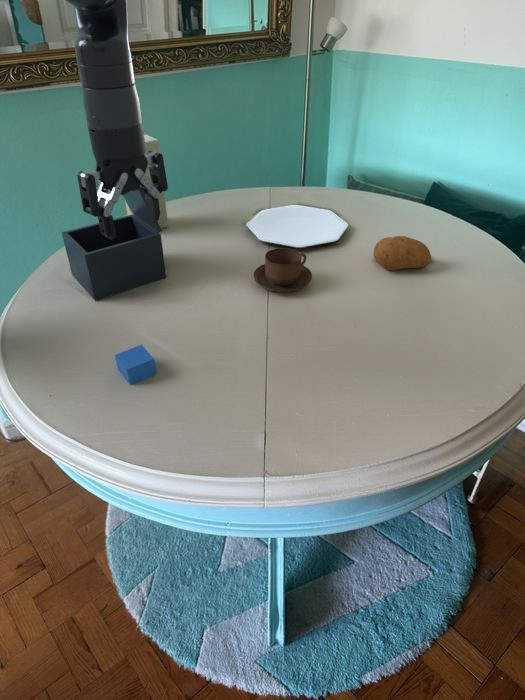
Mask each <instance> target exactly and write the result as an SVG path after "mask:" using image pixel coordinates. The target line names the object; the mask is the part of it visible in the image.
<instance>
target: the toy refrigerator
mask: <svg viewBox="0 0 525 700" xmlns="http://www.w3.org/2000/svg"><path fill="white" fill-rule="evenodd" d="M144 139H145V146H146V151H145V153H144V155H147V152H148V151H153V152H157V153H160V154H161V149H160V142H159V139H157V138H155V137H153V136H150V135H148V134H144ZM145 175H146V177H147V178H148V179H149V180H150V181H151V176H150V171H149V167H148V166H147V169H146V172H145ZM151 182H152V181H151ZM158 199H159V207H160V216H159V220H158V223H159V225H160V227H161V229H165V228H168V227H169V221H168V213H167V212H168V211H167V203H166V195H165V191H163V192H162V193H160V196H159V198H158ZM124 202H125V209H126V216H128V215H132V214H133V213H132V212H131V210H130V208H129V206H128V204H127V202H126V200H125V199H124ZM135 216H136V215H135Z"/></svg>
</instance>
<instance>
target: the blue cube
mask: <svg viewBox="0 0 525 700" xmlns="http://www.w3.org/2000/svg"><path fill="white" fill-rule="evenodd" d="M114 358H115V363H116V368H117V371H118V372H119V373H120V375H121V376H122V377H123V378H124V380H125V381H126V382H127V383H128V385H129V386H131V385H134V384H136V383H139V382H142V381H144V380H145V379H148V378H150V377H153V376H155V375H158V373H157V365H156V360H155V357H153V355H152V354H150V352H149V351H148V350H147V349H146V347H144V346H143V345H142V344H139V345H136V346H134V347H131V348H128V349H126V350H123V351H121V352H118V353H116V354H114Z"/></svg>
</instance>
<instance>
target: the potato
mask: <svg viewBox="0 0 525 700" xmlns="http://www.w3.org/2000/svg"><path fill="white" fill-rule="evenodd" d="M373 256H374V258H375V261H376V263H377V264H379V266H381V267H382V268H383V269H385V270H388V271H395V270H403V269H419V268H420V269H422V268H425V267H427V266H428V265H429V264H430V263H431V261H432V255H431V251H430V249H429V247H428V246H427V245H426V244H425V243H423V242H422V241H420V240H418V239H414V238H412V237H408V236H405V235H396V236H387V237H384V238H381V239H379V241H377V243H376V244H375V246H374V247H373Z"/></svg>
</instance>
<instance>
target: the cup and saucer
mask: <svg viewBox="0 0 525 700" xmlns="http://www.w3.org/2000/svg"><path fill="white" fill-rule="evenodd" d="M302 258H303V259H302ZM306 262H307V255H306V253H304V252H300V251H298V250H296V249H295V248H291V247H277V248H273V249H270V250H268V251H266V252H265V255H264V264H262V265H259V266H258V267H257V268H256V269H255V270H254V272H253V278H254V279H253V280H254V281H255V283H256V284H257V285H259V287H261V288H263V289H265V290H268V291H271V292H275V293H292V292H296V291H299V290H301V289H303V288H305V287H306V286H308V285H309V284H310V283H311V281H312V278H313V274H312V271H311V269H309V267H307V266H306V265H305V264H306Z"/></svg>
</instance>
